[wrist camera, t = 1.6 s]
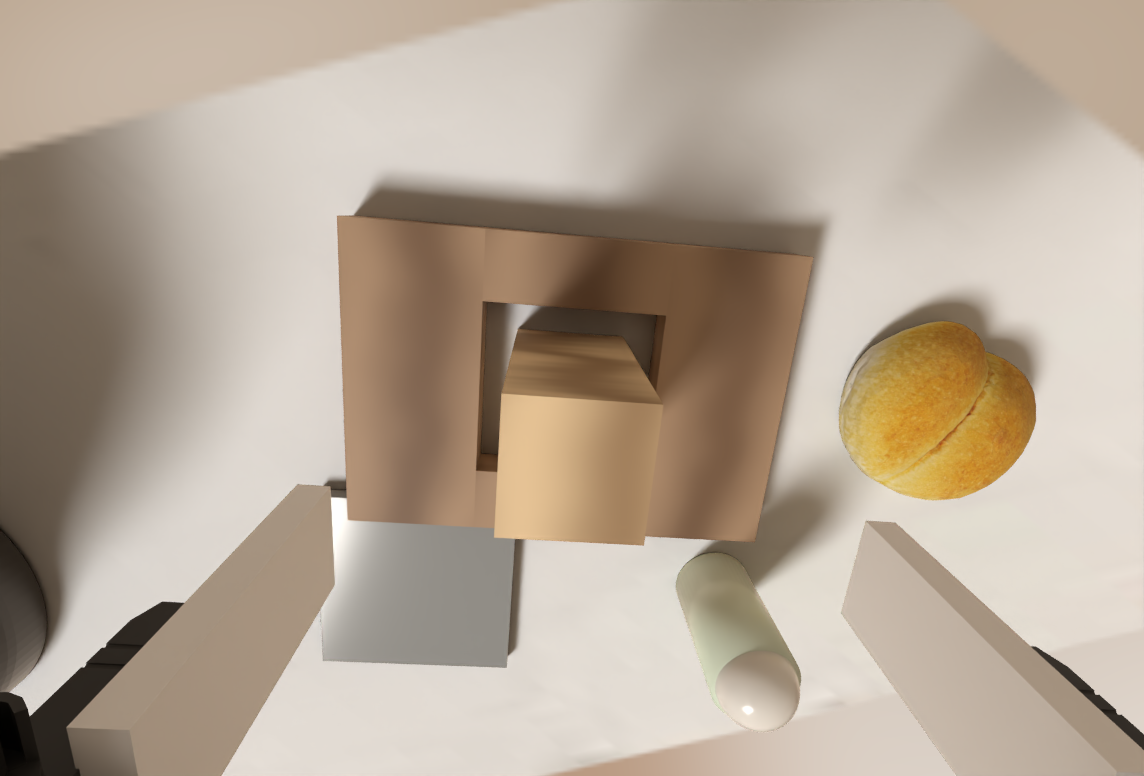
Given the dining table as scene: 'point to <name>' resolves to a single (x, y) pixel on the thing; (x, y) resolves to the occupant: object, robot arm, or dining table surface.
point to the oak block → (575, 440)
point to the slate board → (417, 593)
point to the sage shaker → (738, 644)
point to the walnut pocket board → (570, 280)
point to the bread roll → (935, 412)
